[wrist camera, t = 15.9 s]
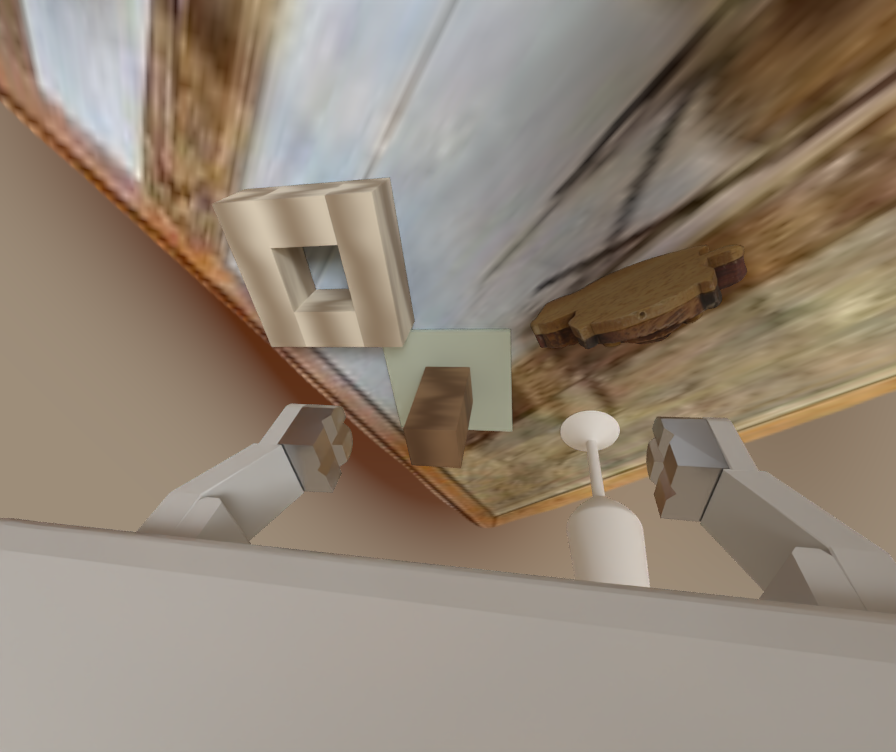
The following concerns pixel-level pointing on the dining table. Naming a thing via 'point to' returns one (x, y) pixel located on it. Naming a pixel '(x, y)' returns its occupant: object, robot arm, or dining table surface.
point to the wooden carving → (641, 299)
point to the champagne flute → (602, 513)
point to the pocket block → (287, 272)
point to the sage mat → (457, 349)
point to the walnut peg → (440, 417)
